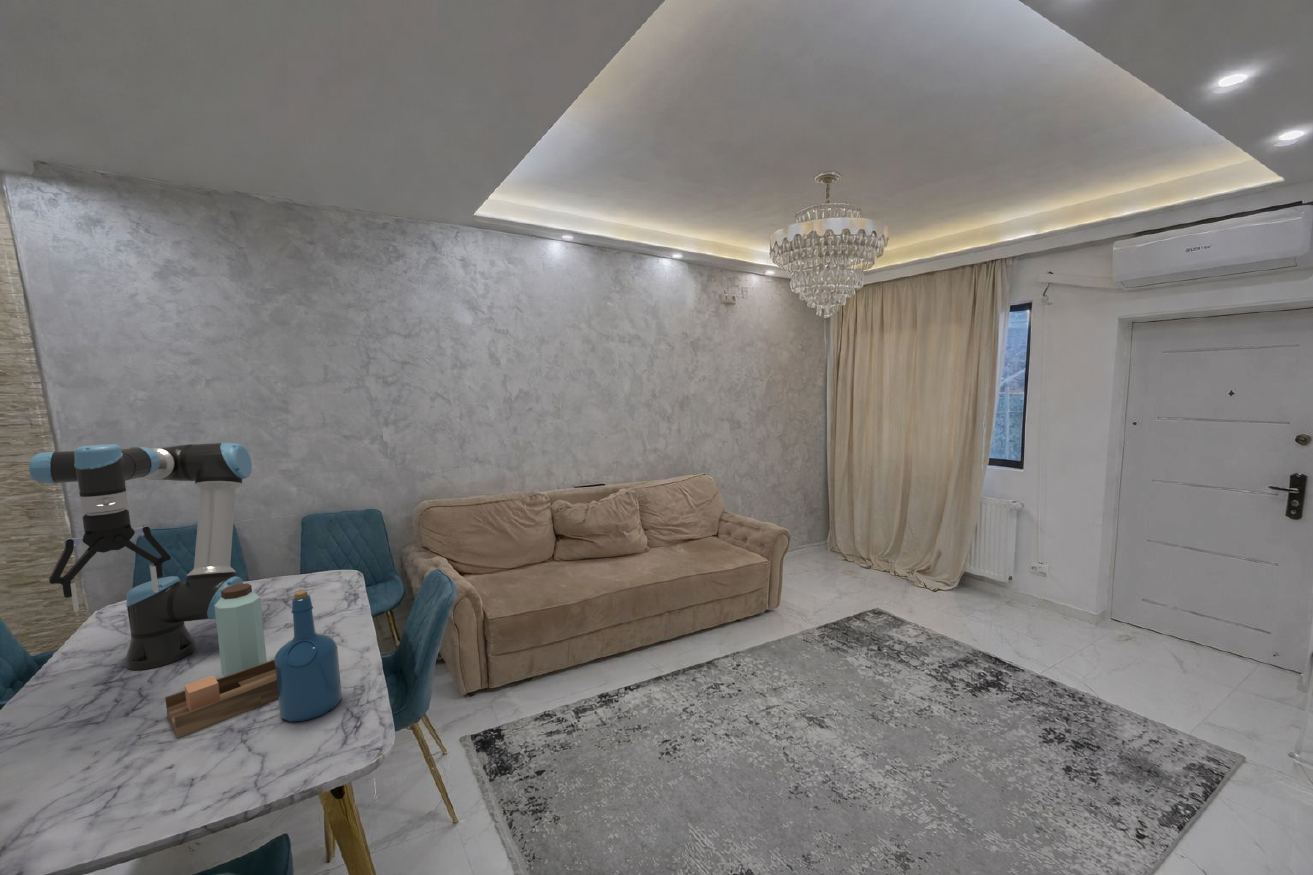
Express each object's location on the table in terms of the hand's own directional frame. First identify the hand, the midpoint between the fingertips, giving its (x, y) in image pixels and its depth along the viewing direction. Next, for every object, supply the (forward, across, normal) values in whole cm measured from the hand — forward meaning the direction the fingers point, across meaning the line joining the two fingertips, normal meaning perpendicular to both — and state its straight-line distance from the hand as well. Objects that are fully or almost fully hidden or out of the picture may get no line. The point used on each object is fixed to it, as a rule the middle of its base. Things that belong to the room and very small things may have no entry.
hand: (117, 600), depth 125 cm
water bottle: (+31, +23, +4) cm, 39 cm away
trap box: (+30, +20, -11) cm, 38 cm away
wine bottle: (+31, +29, -29) cm, 51 cm away
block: (+28, +11, -11) cm, 32 cm away
